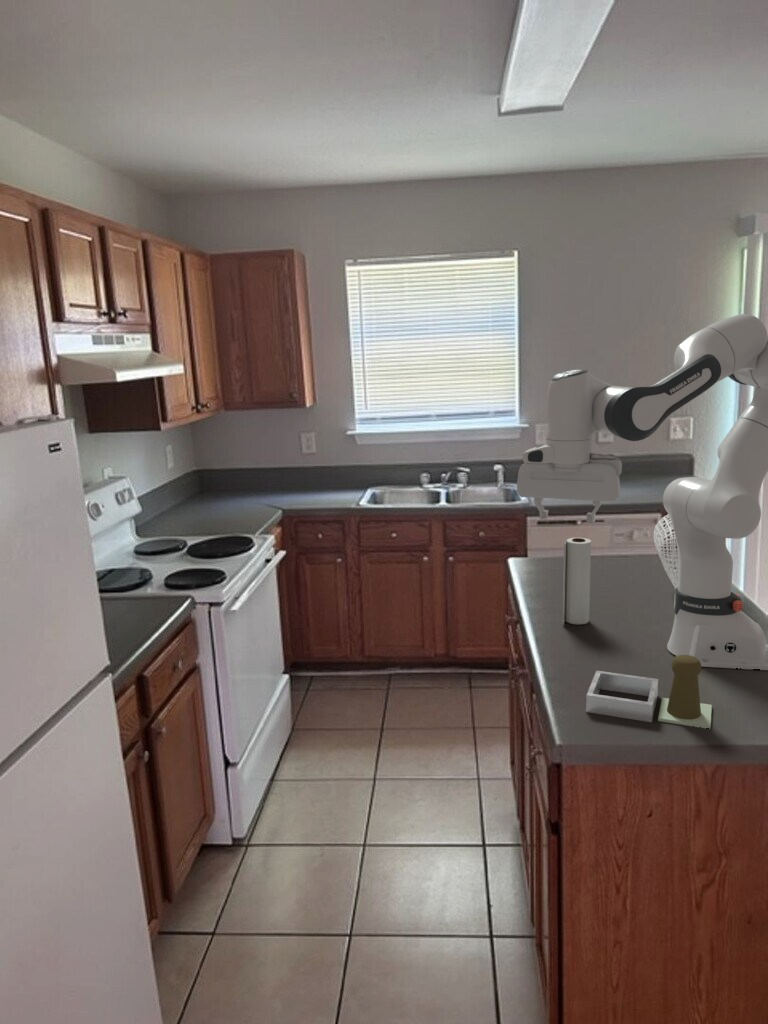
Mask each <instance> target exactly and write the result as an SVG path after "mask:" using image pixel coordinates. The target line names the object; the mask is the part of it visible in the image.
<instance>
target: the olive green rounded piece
mask: <svg viewBox="0 0 768 1024" xmlns="http://www.w3.org/2000/svg"><path fill="white" fill-rule="evenodd" d="M671 670H672V672H673V673H674V674H673V677H672V683H671V688H670V692H669V697H668V698H669V702H668V707H667V712H668V713H669V714H670V715H672V716H674V717H677V718H680V719H696V718H699V717H700V716H701V708H700V703H701V699H700V687H699V675H700V674H701V672H702V667H701V663H700V661H699V659H697V658H696V657H694V656H690V655H678V656H676V655H675V657H673V659H672V661H671Z"/></svg>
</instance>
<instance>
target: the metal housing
mask: <svg viewBox="0 0 768 1024" xmlns="http://www.w3.org/2000/svg"><path fill="white" fill-rule="evenodd" d="M601 690H604V691H609V692H610V691H612V692H619V693H623V694H624V693H625V694H632V695H638V696H645V697H648V698H647V701H643V700H638V699H630V698H623V697H617V696H610V695H603V694H600V691H601ZM658 691H659V679H658V678H653V677H647V676H638V675H630V674H624V673H616V672H609V671H602V670H596V671H595V673H594V675H593V677H592V680H591V683H590V686H589V687H588V691H587V693H586V699H585V700H586V701H585V703H586V704H585V706H586V707H585V713H589V714H590V713H591V714H597V715H602V716H610V717H616V718H622V719H629V720H633V721H634V720H635V721H641V722H647V723H653V719H654V713H655V709H656V705H657V699H658V694H659V693H658Z"/></svg>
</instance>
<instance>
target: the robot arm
mask: <svg viewBox="0 0 768 1024" xmlns="http://www.w3.org/2000/svg"><path fill="white" fill-rule="evenodd" d="M673 364H674V365H673V367H674V369H675V371H674V372H672V373H671V374H668V375H667V376H666V377H664V378H662V379H661V380H659V381H658V382H656V383H655V384H652V385H648V386H632V387H631V386H621V385H619V386H617V385H612V383H608V382H606V381H604V380H602V379H600V378H597V377H596V376H595V375H593V374H591V372H590V371H589V370H588V369H584V368H583V369H581V368H580V369H571V370H565V371H562V372H559V373H557V374H554V376H552V377H551V378H550V381H549V383H548V388H547V389H548V390H547V397H546V414H545V415H546V420H547V424H548V425H547V426H548V427H547V431H546V437H545V444H540V445H537V446H535V447H531V448H529V449H527V450H525V451H524V452H523V453H522V461H523V462H524V463H523V464H521V466H520V467H519V470H518V474H517V482H516V493H517V494H518V496H519V497H520V498H532V499H533V503H534V505H535V507H536V509H537V510H538V511H539V520H544V521H545V520H546V521H547V520H548V519H549V509H545V507H544V506H543V504H542V503H543V502H544V499H550V500H551V499H553V500H570V501H572V500H573V501H591V502H592V506H593V507H594V508H593V510H592V511H591V512H590V511H589V512H588V511H587V513H586V521H585V522H586V523H593V524H594V523H595V522H596V513H597V512H598V510H600V509H599V508H600V507H601V506H602V502H613V503H614V502H616V501H618V499H619V498H620V496H621V481H620V476H621V475H622V473H623V461H622V460H621V458H620V457H618V456H615V454H613V453H607V454H604V453H595V452H594V453H592V441H593V440H592V438H593V436H592V435H593V433H595V432H596V433H600V434H604V435H608V436H613V437H617V438H620V439H623V440H627V441H629V442H639V441H642V440H645V439H648V438H649V437H650V436H651V435H653V434H654V433H655V432H656V431H657V430H658V429H659V427H660V426H661V425H662V424H663V422H664V421H665V420H666V419H667V418H668V417H670V415H672V414H673V413H674V412H675V411H678V409H681V408H682V407H684V406H685V405H687V404H688V403H689V402H692V401H693V400H694V399H696V398H697V397H699V396H700V395H702V394H703V393H705V392H707V390H708V389H711V387H713V386H714V385H716V383H718V382H720V381H722V380H724V379H725V378H727V377H728V378H729V379H730V380H732V381H733V382H735V383H737V384H740V385H743V386H744V385H745V386H749V387H754V394H753V397H752V399H751V402H750V403H749V404H748V405H747V406H746V408H745V409H744V410H743V411H742V413H741V414H740V415H739V417H738V419H737V420H736V421H735V422H734V424H733V425H732V427H731V429H730V430H729V431H728V433H726V435H725V437H724V438H723V439H722V441H721V442H720V444H718V448H717V457H718V459H719V460H718V462H719V463H718V465H717V466H718V467H717V469H716V472H715V474H714V476H713V477H712V479H711V480H710V479H707V478H706V479H705V478H702V477H698V476H687V477H686V476H685V477H678V478H676V479H674V480H673V481H671V482H670V483H669V484H667V486H666V488H665V489H664V491H663V495H662V505H663V507H664V509H665V511H666V512H667V515H668V514H669V515H668V516H670V518H669V519H671V521H672V523H671V525H673V532H674V533H675V538H676V539H675V542H676V543H675V544H677V546H676V547H677V548H676V549H678V550H677V552H678V554H677V555H678V556H677V557H679V565H678V579H677V580H678V587H677V588H676V589H675V593H674V597H673V599H674V600H673V610H674V620H673V625H672V629H671V634H670V637H669V640H668V642H667V645H666V648H667V650H668V652H669V653H671V654H672V655H675V657H676V656H678V655H690V656H694V657H696V658H697V659H699V661H700V663H701V668H702V667H704V668H723V669H736V668H738V669H739V670H753V669H760V671H768V643H767V640H766V636H765V632H764V630H763V628H762V627H761V625H759V623H758V622H756V621H755V620H753V619H752V618H751V617H749V616H748V614H746V613H744V611H742V610H743V608H744V603H743V601H741V597H740V595H739V593H736V594H735V592H732V583H733V582H732V581H733V570H734V569H733V568H734V560H733V557H732V554H731V552H730V551H729V549H728V548H727V545H726V543H725V541H724V539H737V540H738V539H744V538H747V537H748V536H750V535H751V534H752V533H754V532H755V531H756V529H757V527H758V526H759V523H760V521H761V517H762V512H761V506H760V502H759V496H760V491H761V487H762V485H763V482H764V479H765V477H766V475H767V473H768V331H767V328H766V326H765V324H764V322H762V321H761V320H760V318H758V317H757V316H755V315H752V314H749V313H748V314H747V313H741V314H740V313H739V314H737V315H733V316H730V317H727V318H724V319H721V320H719V321H716V322H714V323H712V324H709V325H707V326H705V327H703V328H702V329H699V330H698V331H696V332H694V333H692V334H691V335H690V336H688V337H687V338H685V339H684V340H683V341H682V342H681V343H679V344H678V345H677V346H676V349H675V352H674V357H673ZM674 533H673V534H674ZM740 668H741V669H740Z"/></svg>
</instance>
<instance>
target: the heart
mask: <svg viewBox="0 0 768 1024" xmlns="http://www.w3.org/2000/svg"><path fill="white" fill-rule="evenodd" d="M664 525H665V526H664ZM653 530H654V531H653V541H654V545H655V549H656V552H657V554H658V557H659V559H660V561H661V564H662V566H663V568H664V571H665V573H666V575H667V577H668V578H669V580H670V582H671V584H672V585H673V588H674V590H676V588H677V587H678V565H679V557H678V548H676V547H677V543H676V538H675V533H674V529H673V525H672V521H671V519H670V516H669V514H668V513H667V514H666V515H664V516H663V517H661V518H660V519H659V520H658V522H657V523H656V524H655V527H654V529H653ZM668 537H669V538H668ZM665 547H666V548H665ZM675 568H676V569H675Z"/></svg>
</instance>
